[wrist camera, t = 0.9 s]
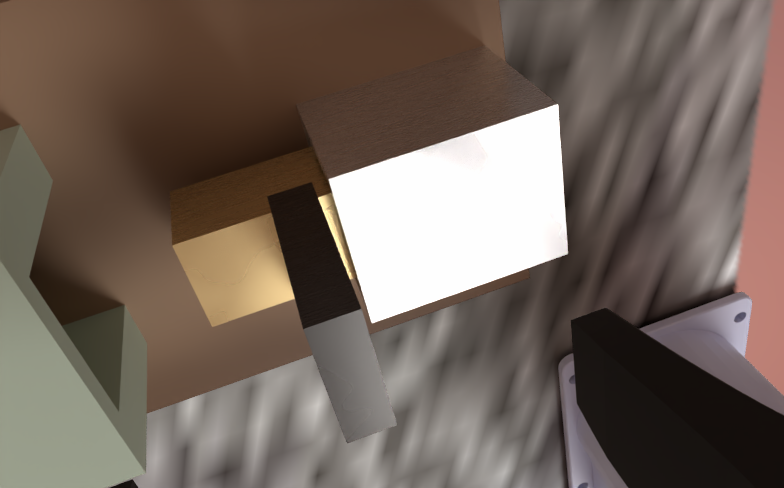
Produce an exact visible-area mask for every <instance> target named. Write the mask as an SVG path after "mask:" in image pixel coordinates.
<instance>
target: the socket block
mask: <svg viewBox="0 0 784 488" xmlns="http://www.w3.org/2000/svg"><path fill="white" fill-rule="evenodd" d="M52 182H53V180H52V178H51V176H50V175H49V173H48V171H47V169H46V168H45V166H44V164H43V163H42V161H41V159H40V157H39V156H38V154H37V152H36V150H35V149H34V147H33V145H32V144H31V142H30V140H29V138H28V137H27V135H26V133H25V131H24V130H23V128H22V126H21V124H20V125H17V126H14V127H11V128H7V129H4V130H1V131H0V488H106V487H109V486H112V485H114V484H117V483H120V482H123V481H125V480H128V479H131V478H134V477H136V476H139V475H142V474H145V473H146V419H147V342H146V341H145V339H144V337H143V335H142V334H141V332H140V330H139V329H138V327H137V325H136V323H135V322H134V320H133V318H132V316H131V315H130V313H129V311H128V310H127V308H126V306H125V305H122V306H120V307H117V308H114V309H111V310H108V311H105V312H102V313H99V314H96V315H93V316H90V317H87V318H84V319H81V320H78V321H75V322H72V323H69V324H66V325H63V326H61V324H60V323H59V321H58V320H57V318H56V317H55V315H54V314H53V312H52V311H51V309H50V308H49V306H48V305H47V303H46V302H45V300H44V299H43V297H42V296H41V294H40V293H39V291H38V290H37V288H36V287H35V285H34V284H33V282H32V281H31V279H30V278H29V275H30V271H31V267H32V263H33V259H34V255H35V251H36V247H37V243H38V239H39V235H40V231H41V227H42V223H43V219H44V215H45V211H46V207H47V203H48V199H49V195H50V191H51V186H52Z"/></svg>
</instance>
